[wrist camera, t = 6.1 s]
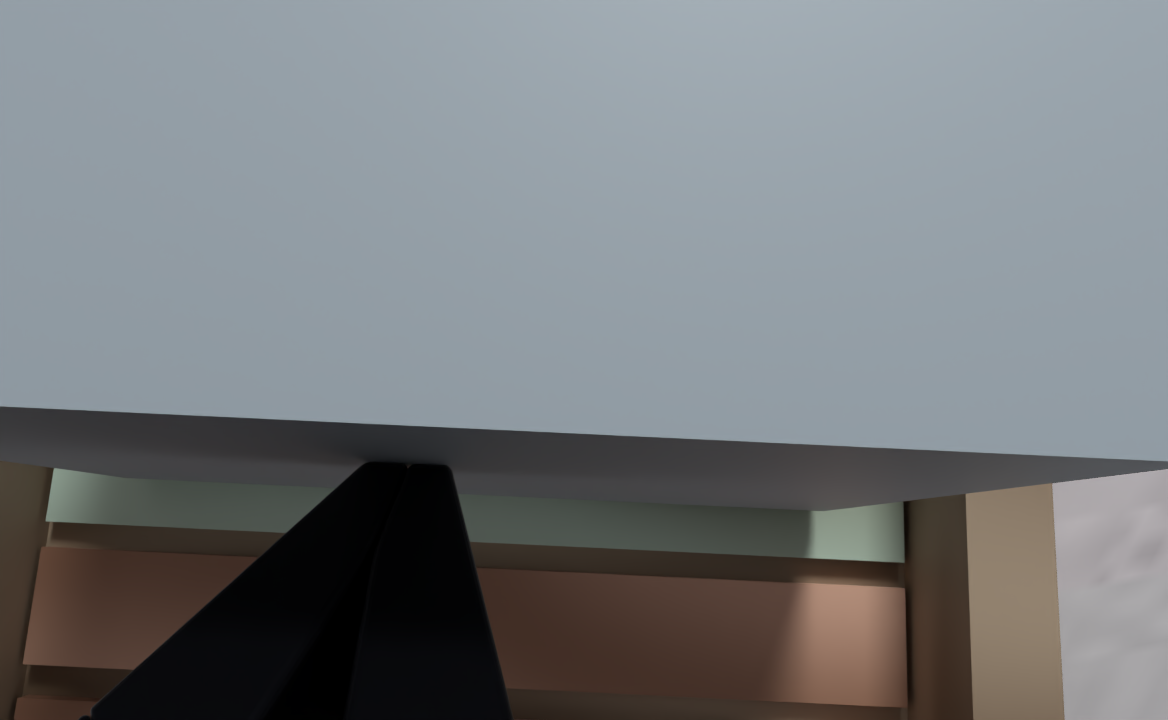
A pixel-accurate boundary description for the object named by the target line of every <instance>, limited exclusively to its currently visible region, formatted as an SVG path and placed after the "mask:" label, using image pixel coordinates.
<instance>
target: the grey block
mask: <svg viewBox="0 0 1168 720" xmlns="http://www.w3.org/2000/svg"><path fill="white" fill-rule="evenodd" d="M0 461H7V462H14V463H21V464H28V465H36V466H43V467H50V468H57V469H65V470H72V471H79V472H86V473H94V474H101V475H108V476H116V477H123V478H137V479H158V480H179V481H200V482H221V483H242V484H263V485H284V486H305V487H325V488H336V487H338V486H339V485H340V484H341V483H342V482H343V481H344V480H345V479H346V478H348V477H349V476H350V475H351V474H352V473H353V472H354V471H355V470H356V469H358V468H359V467H360V466H361V465H363V464H365V463H367V462H386V463H403V464H404V465H406V466H407V467H410V466H411V465H413V464H427V465H446V466H448V467H450V468H451V470H452V472H453V476H454V480H455V484H456V488H457V492H458V494H472V495H493V496H514V497H535V498H556V499H577V500H598V501H619V502H640V503H661V504H682V505H703V506H724V507H745V508H766V509H787V510H808V511H829V510H837V509H846V508H854V507H862V506H870V505H878V504H886V503H894V502H902V501H911V500H919V499H927V498H935V497H943V496H951V495H959V494H968V493H976V492H984V491H992V490H1000V489H1008V488H1016V487H1025V486H1033V485H1041V484H1049V483H1057V482H1065V481H1073V480H1081V479H1090V478H1098V477H1106V476H1114V475H1122V474H1130V473H1138V472H1147V471H1155V470H1163V469H1168V0H0Z"/></svg>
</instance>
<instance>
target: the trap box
mask: <svg viewBox="0 0 1168 720" xmlns="http://www.w3.org/2000/svg"><path fill="white" fill-rule="evenodd" d="M334 489H335V488H325V487H305V486H284V485H263V484H242V483H221V482H200V481H179V480H158V479H137V478H123V477H116V476H108V475H101V474H94V473H86V472H79V471H72V470H65V469H57V468H50V467H43V466H36V465H28V464H21V463H14V462H7V461H0V720H78V719H79V718H80V717H81V716H83V715H88V716H90V717H91V714H90V710H91V708H92V707H93V706H94V705H95V704H96V703H97V702H98V701H99V700H100V699H101V698H103V697H104V696H105V695H106V694H107V693H108V692H109V691H110V690H111V689H113V688H114V687H115V686H116V685H117V684H118V683H119V682H120V681H121V680H123V679H124V678H125V677H126V676H127V675H128V674H129V673H130V672H131V671H133V670H134V669H135V668H136V667H137V666H138V665H139V664H140V663H142V662H143V661H144V660H145V659H146V658H147V657H148V656H149V655H150V654H152V653H153V652H154V651H155V650H156V649H157V648H158V647H159V646H160V645H162V644H163V643H164V642H165V641H166V640H167V639H168V638H169V637H170V636H172V635H173V634H174V633H175V632H176V631H177V630H178V629H179V628H180V627H182V626H183V625H184V624H185V623H186V622H187V621H188V620H189V619H191V618H192V617H193V616H194V615H195V614H196V613H197V612H198V611H199V610H201V609H202V608H203V607H204V606H205V605H206V604H207V603H208V602H209V601H211V600H212V599H213V598H214V597H215V596H216V595H217V594H218V593H219V592H221V591H222V590H223V589H224V588H225V587H226V586H227V585H228V584H229V583H231V582H232V581H233V580H234V579H235V578H236V577H237V576H238V575H240V574H241V573H242V572H243V571H244V570H245V569H246V568H247V567H248V566H250V565H251V564H252V563H253V562H254V561H255V560H256V559H257V558H258V557H260V556H261V555H262V554H263V553H264V552H265V551H266V550H267V549H268V548H270V547H271V546H272V545H273V544H274V543H275V542H276V541H277V540H278V539H280V538H281V537H282V536H283V535H284V534H285V533H286V532H287V531H289V530H290V529H291V528H292V527H293V526H294V525H295V524H296V523H297V522H299V521H300V520H301V519H302V518H303V517H304V516H305V515H306V514H307V513H309V512H310V511H311V510H312V509H313V508H314V507H315V506H316V505H317V504H319V503H320V502H321V501H322V500H323V499H324V498H325V497H326V496H327V495H329V494H330V493H331V492H332V491H333V490H334ZM458 496H459V500H460V504H461V508H462V512H463V516H464V520H465V524H466V528H467V532H468V537H469V541H470V545H471V549H472V553H473V557H474V561H475V565H476V569H477V573H478V577H479V581H480V585H481V589H482V593H483V597H484V601H485V605H486V609H487V613H488V617H489V621H490V625H491V629H492V633H493V637H494V641H495V645H496V650H497V654H498V658H499V662H500V666H501V670H502V674H503V678H504V682H505V686H506V690H507V694H508V698H509V702H510V706H511V710H512V714H513V718H514V720H1064V701H1063V682H1062V663H1061V644H1060V625H1059V606H1058V588H1057V569H1056V550H1055V531H1054V512H1053V493H1052V483H1049V484H1041V485H1033V486H1025V487H1016V488H1008V489H1000V490H992V491H984V492H976V493H968V494H959V495H951V496H943V497H935V498H927V499H919V500H911V501H902V502H894V503H886V504H878V505H870V506H862V507H854V508H846V509H837V510H829V511H808V510H787V509H766V508H745V507H724V506H703V505H682V504H661V503H640V502H619V501H598V500H577V499H556V498H535V497H514V496H493V495H472V494H458Z"/></svg>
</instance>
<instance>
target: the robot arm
mask: <svg viewBox="0 0 1168 720" xmlns="http://www.w3.org/2000/svg"><path fill="white" fill-rule="evenodd" d="M90 714H91V717H90V716H88V715H83V716H81V717H80V718H79V719H78V720H514V718H513V714H512V710H511V706H510V702H509V698H508V694H507V690H506V686H505V682H504V678H503V674H502V670H501V666H500V662H499V658H498V654H497V650H496V645H495V641H494V637H493V633H492V629H491V625H490V621H489V617H488V613H487V609H486V605H485V601H484V597H483V593H482V589H481V585H480V581H479V577H478V573H477V569H476V565H475V561H474V557H473V553H472V549H471V545H470V541H469V537H468V532H467V528H466V524H465V520H464V516H463V512H462V508H461V504H460V500H459V496H458V492H457V488H456V484H455V480H454V476H453V472H452V470H451V468H450V467H448V466H446V465H427V464H413V465H411V466H410V467H407V466H406V465H404V464H403V463H386V462H367V463H365V464H363V465H361V466H360V467H359V468H358V469H356V470H355V471H354V472H353V473H352V474H351V475H350V476H349V477H348V478H346V479H345V480H344V481H343V482H342V483H341V484H340V485H339V486H338V487H336V488H335V489H334V490H333V491H332V492H331V493H330V494H329V495H327V496H326V497H325V498H324V499H323V500H322V501H321V502H320V503H319V504H317V505H316V506H315V507H314V508H313V509H312V510H311V511H310V512H309V513H307V514H306V515H305V516H304V517H303V518H302V519H301V520H300V521H299V522H297V523H296V524H295V525H294V526H293V527H292V528H291V529H290V530H289V531H287V532H286V533H285V534H284V535H283V536H282V537H281V538H280V539H278V540H277V541H276V542H275V543H274V544H273V545H272V546H271V547H270V548H268V549H267V550H266V551H265V552H264V553H263V554H262V555H261V556H260V557H258V558H257V559H256V560H255V561H254V562H253V563H252V564H251V565H250V566H248V567H247V568H246V569H245V570H244V571H243V572H242V573H241V574H240V575H238V576H237V577H236V578H235V579H234V580H233V581H232V582H231V583H229V584H228V585H227V586H226V587H225V588H224V589H223V590H222V591H221V592H219V593H218V594H217V595H216V596H215V597H214V598H213V599H212V600H211V601H209V602H208V603H207V604H206V605H205V606H204V607H203V608H202V609H201V610H199V611H198V612H197V613H196V614H195V615H194V616H193V617H192V618H191V619H189V620H188V621H187V622H186V623H185V624H184V625H183V626H182V627H180V628H179V629H178V630H177V631H176V632H175V633H174V634H173V635H172V636H170V637H169V638H168V639H167V640H166V641H165V642H164V643H163V644H162V645H160V646H159V647H158V648H157V649H156V650H155V651H154V652H153V653H152V654H150V655H149V656H148V657H147V658H146V659H145V660H144V661H143V662H142V663H140V664H139V665H138V666H137V667H136V668H135V669H134V670H133V671H131V672H130V673H129V674H128V675H127V676H126V677H125V678H124V679H123V680H121V681H120V682H119V683H118V684H117V685H116V686H115V687H114V688H113V689H111V690H110V691H109V692H108V693H107V694H106V695H105V696H104V697H103V698H101V699H100V700H99V701H98V702H97V703H96V704H95V705H94V706H93V707H92V708H91V710H90Z"/></svg>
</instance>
